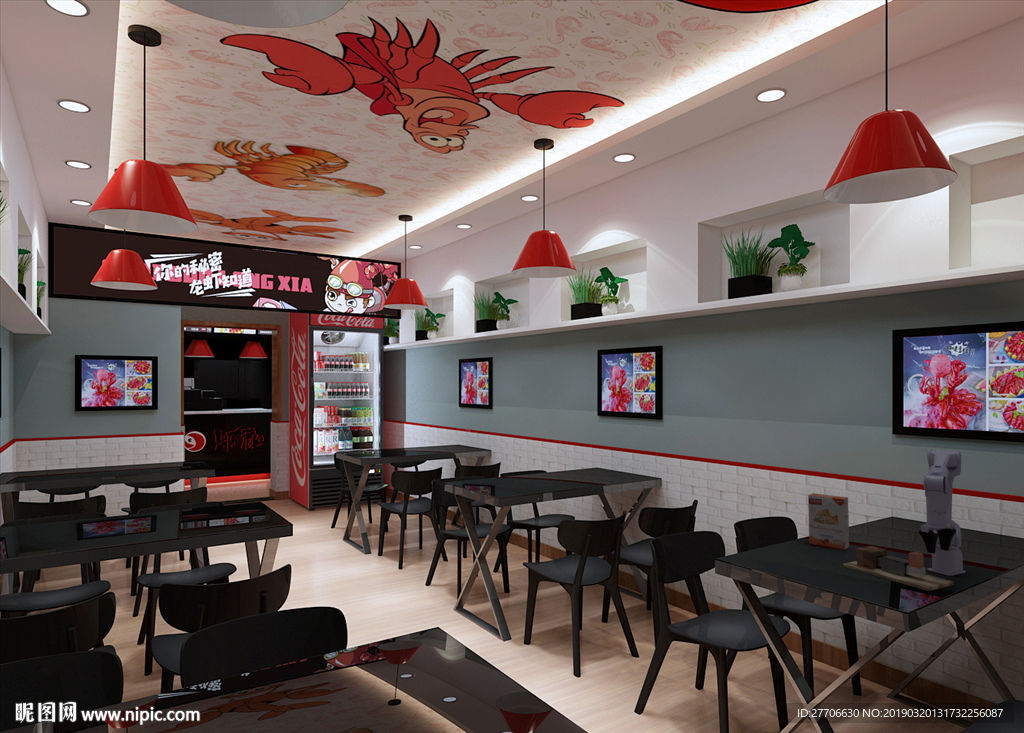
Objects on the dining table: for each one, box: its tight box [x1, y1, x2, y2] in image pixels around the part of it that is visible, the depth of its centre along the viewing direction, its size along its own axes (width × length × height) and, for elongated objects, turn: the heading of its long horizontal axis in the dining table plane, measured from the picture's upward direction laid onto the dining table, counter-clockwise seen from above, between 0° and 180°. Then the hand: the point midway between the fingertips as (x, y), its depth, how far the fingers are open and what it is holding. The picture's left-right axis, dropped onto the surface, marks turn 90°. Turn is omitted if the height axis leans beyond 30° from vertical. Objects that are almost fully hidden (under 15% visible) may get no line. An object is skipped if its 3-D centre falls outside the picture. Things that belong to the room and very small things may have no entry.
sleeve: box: [881, 554, 910, 577], centre depth 211 cm, size 5×8×5 cm, turn 25°
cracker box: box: [807, 492, 850, 551], centre depth 250 cm, size 14×6×21 cm, turn 45°
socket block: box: [856, 545, 888, 569], centre depth 219 cm, size 8×6×6 cm
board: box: [842, 560, 955, 592], centre depth 211 cm, size 14×30×1 cm, turn 25°
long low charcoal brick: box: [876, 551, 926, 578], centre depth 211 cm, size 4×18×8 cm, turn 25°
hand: (938, 551), depth 203 cm, fingers open, 7 cm apart
